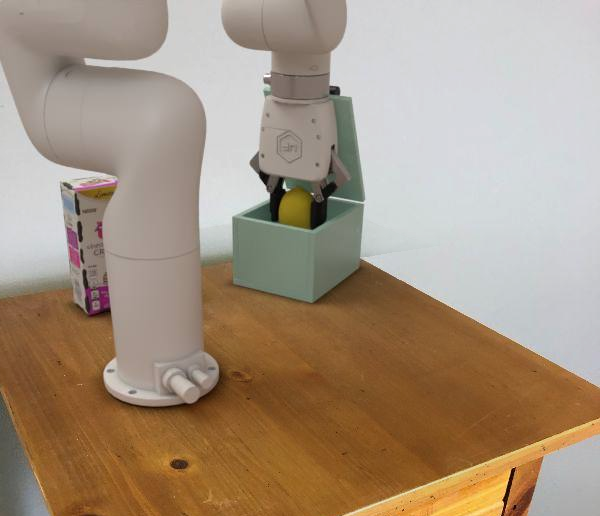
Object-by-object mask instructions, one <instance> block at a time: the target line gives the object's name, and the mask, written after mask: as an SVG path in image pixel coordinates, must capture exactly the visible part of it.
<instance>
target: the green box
mask: <svg viewBox="0 0 600 516" xmlns="http://www.w3.org/2000/svg"><path fill="white" fill-rule="evenodd" d="M289 190H290V189H287V190H286V192H288V191H289ZM312 195H313V197H314V194H312ZM314 198H315V197H314ZM364 209H365V203H363V202H357V201H352V200H346V199H340V198H335V197H328V200H327V219H326V222H325V223H324V224H322V225H321V226H319V227H317V228H316V229H314V230H308V229H303V228H298V227H293V226H288V225H283V224H280V223H279V221H277V222H272V221H271V213H270V198H268V199H265V200H264V201H262V202H260V203H257V204H255V205H254V206H252V207H249V208H248V209H245V210H243V211H241V212H239V213H237V214H235V215H232V217H231V225H232V227H231V228H232V230H231V233H232V234H231V235H232V283H233V285H236V286H239V287H244V288H248V289H252V290H256V291H260V292H264V293H269V294H272V295H276V296H281V297H284V298H288V299H292V300H297V301H301V302H304V303H305V302H306V303H310V304H313V303H315V302H316V301H318V300H319V299H320V298H321V297H322V296H324V295H325V294H327V293H328V292H329V291H331V290H332V289H333V288H335V287H336V286H337V285H339V284H340V283H342V282H343V281H344V280H345V279H347V278H348V277H349V276H350V275H352V274H353V273H355V272H356V271H357V270H359V269H360V263H361V252H362V238H363V226H364V225H363V223H364V211H365V210H364Z"/></svg>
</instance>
